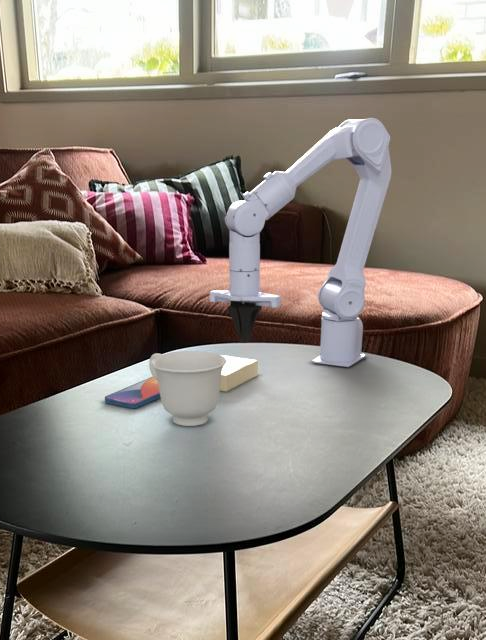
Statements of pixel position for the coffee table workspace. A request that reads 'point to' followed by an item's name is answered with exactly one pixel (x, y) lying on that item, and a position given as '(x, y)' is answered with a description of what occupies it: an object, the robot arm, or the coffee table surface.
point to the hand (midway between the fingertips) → (244, 341)
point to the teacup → (188, 384)
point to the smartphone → (135, 394)
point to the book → (237, 372)
